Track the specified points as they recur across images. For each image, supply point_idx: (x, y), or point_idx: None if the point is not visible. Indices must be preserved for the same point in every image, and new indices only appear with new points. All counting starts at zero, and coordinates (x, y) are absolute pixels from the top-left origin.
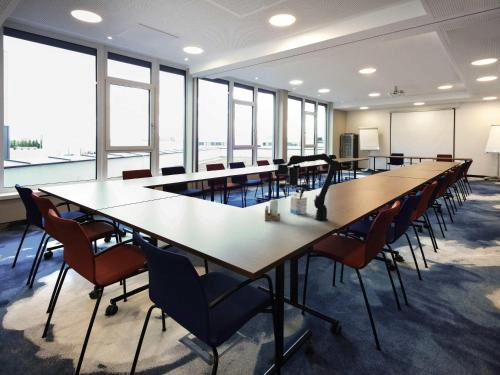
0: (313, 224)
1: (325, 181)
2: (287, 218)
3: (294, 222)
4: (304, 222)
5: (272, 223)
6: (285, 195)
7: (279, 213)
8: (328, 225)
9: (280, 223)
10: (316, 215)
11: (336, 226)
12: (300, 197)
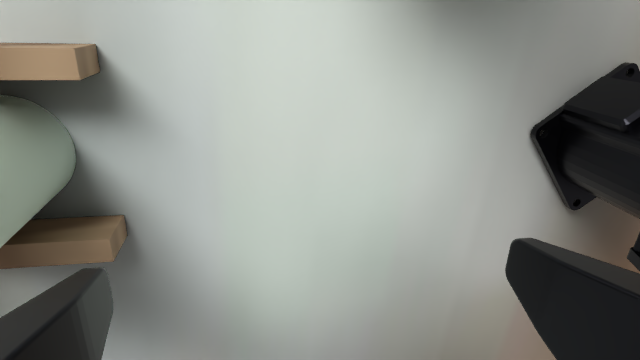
0: (465, 309)
1: None
2: (212, 122)
3: (296, 279)
4: (397, 262)
5: None
6: None
7: (63, 70)
8: None
9: (150, 339)
10: (584, 128)
11: None
12: (544, 327)
